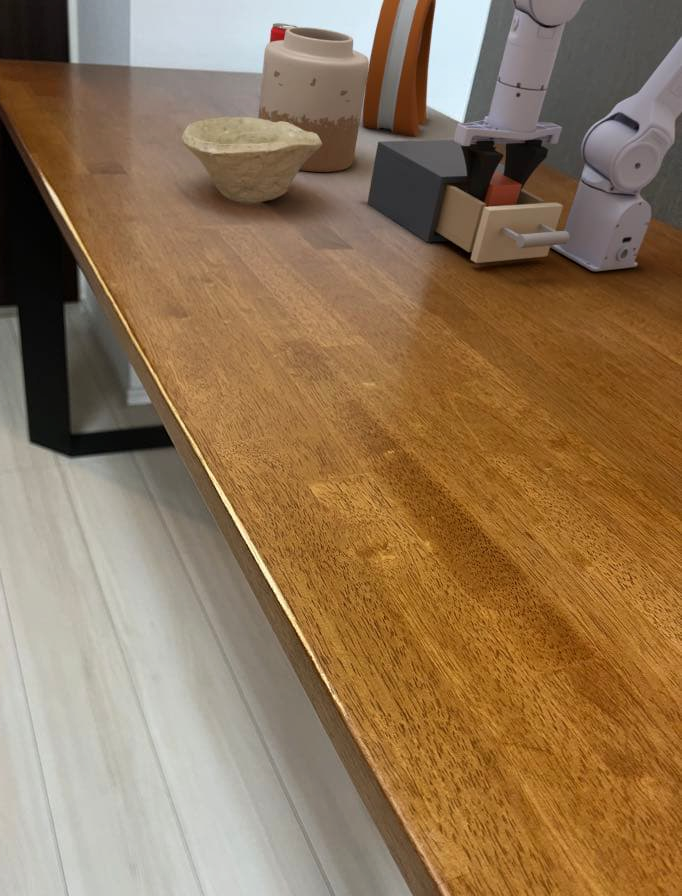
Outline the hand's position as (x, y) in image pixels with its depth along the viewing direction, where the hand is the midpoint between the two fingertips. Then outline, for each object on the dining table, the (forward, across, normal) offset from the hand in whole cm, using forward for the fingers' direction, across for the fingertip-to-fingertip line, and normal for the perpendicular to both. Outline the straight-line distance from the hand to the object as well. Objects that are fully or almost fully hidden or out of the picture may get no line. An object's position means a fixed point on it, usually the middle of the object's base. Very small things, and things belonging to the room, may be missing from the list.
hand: (490, 204), depth 106 cm
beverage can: (+6, -8, -72) cm, 73 cm away
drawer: (+4, 0, +2) cm, 5 cm away
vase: (+6, +5, -38) cm, 39 cm away
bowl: (+6, +22, -23) cm, 32 cm away
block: (+1, 0, 0) cm, 1 cm away
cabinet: (+5, 0, -10) cm, 11 cm away
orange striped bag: (+6, -24, -56) cm, 61 cm away
